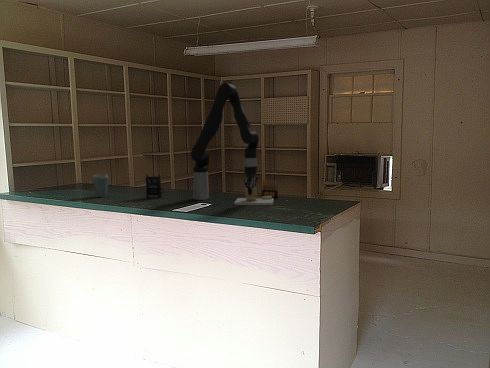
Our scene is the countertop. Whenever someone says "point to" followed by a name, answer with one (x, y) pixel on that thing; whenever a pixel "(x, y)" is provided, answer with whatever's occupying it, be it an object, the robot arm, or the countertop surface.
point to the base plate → (255, 201)
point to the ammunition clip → (270, 189)
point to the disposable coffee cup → (100, 184)
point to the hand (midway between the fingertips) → (251, 194)
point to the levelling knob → (254, 194)
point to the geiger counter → (153, 187)
